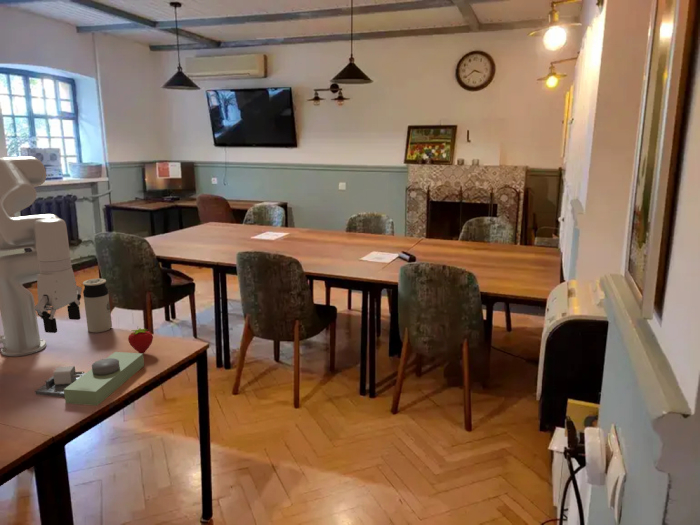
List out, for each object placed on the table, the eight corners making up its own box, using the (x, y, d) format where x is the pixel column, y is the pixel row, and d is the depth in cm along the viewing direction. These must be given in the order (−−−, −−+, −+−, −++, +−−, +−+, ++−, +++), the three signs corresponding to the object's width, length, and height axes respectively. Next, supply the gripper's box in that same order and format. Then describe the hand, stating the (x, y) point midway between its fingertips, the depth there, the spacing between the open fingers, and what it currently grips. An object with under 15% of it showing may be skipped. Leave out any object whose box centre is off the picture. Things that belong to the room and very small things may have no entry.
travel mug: (83, 332, 184) (77, 284, 179) (94, 324, 192) (89, 278, 187) (105, 333, 184) (100, 284, 179) (116, 325, 191) (110, 278, 187)
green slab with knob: (64, 402, 137) (61, 382, 135) (115, 363, 160) (113, 345, 158) (97, 405, 136) (94, 384, 134) (144, 365, 159) (142, 347, 157)
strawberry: (152, 357, 165) (149, 327, 162) (127, 358, 164) (124, 328, 161) (156, 349, 170) (153, 321, 168) (132, 350, 169) (129, 321, 167)
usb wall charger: (60, 379, 148) (58, 366, 147) (86, 377, 149) (84, 364, 148) (54, 385, 144) (52, 372, 143) (81, 384, 145) (79, 370, 144)
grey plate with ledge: (35, 394, 141) (34, 386, 140) (64, 374, 153) (63, 366, 152) (71, 397, 140) (70, 388, 139) (97, 377, 151) (96, 369, 151)
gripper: (63, 256, 146) (71, 314, 150) (18, 273, 130) (27, 337, 134) (88, 257, 145) (95, 315, 149) (45, 274, 129) (54, 338, 133)
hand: (63, 325), depth 142 cm, fingers open, 9 cm apart
